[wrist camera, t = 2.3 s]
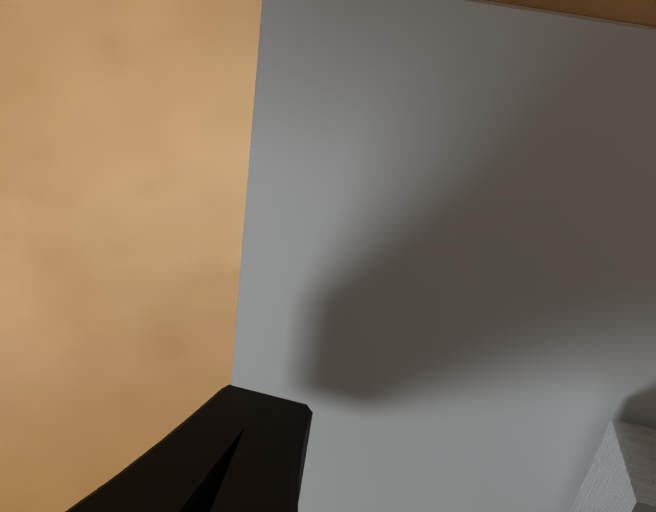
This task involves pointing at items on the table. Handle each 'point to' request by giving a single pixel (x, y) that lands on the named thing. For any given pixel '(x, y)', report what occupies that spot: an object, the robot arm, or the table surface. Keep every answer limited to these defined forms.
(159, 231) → the table surface
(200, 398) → the table surface
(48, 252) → the table surface
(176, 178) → the table surface
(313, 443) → the door panel
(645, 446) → the bolt
